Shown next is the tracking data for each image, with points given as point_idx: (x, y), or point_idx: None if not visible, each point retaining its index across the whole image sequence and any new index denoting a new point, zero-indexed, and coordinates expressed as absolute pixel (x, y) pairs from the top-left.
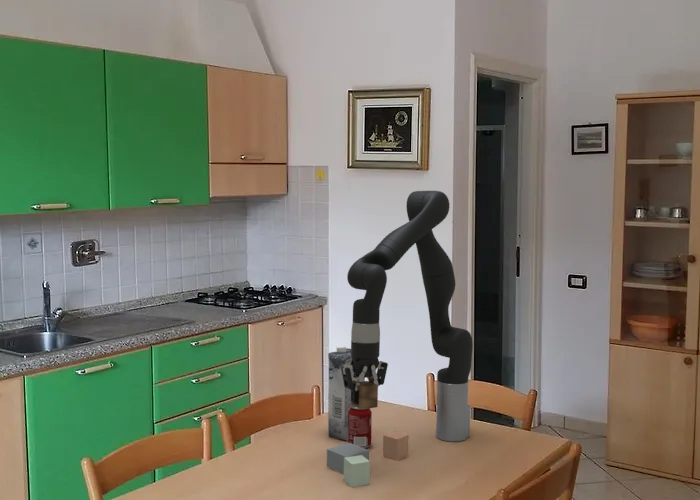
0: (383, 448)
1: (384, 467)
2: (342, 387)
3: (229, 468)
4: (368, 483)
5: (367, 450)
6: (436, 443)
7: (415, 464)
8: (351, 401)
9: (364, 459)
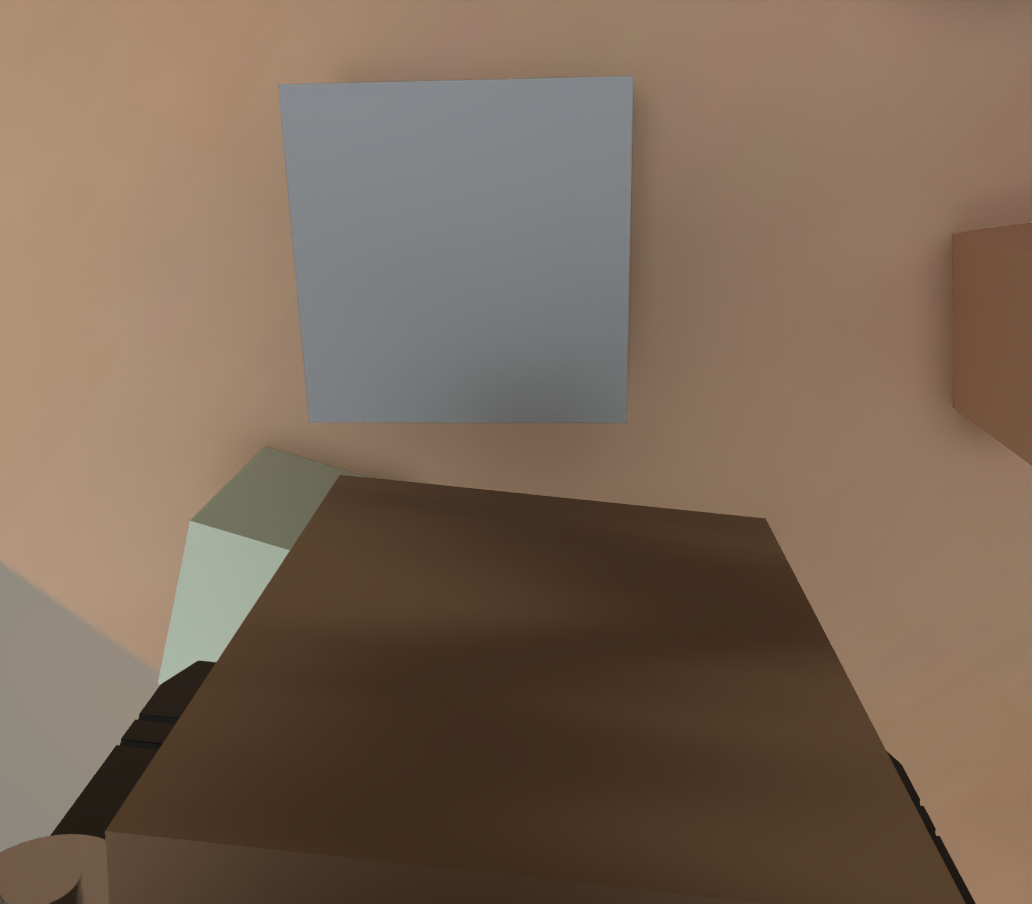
0: (983, 248)
1: (729, 456)
2: None
3: None
4: None
5: (609, 414)
6: None
7: (985, 574)
8: (188, 677)
9: None
